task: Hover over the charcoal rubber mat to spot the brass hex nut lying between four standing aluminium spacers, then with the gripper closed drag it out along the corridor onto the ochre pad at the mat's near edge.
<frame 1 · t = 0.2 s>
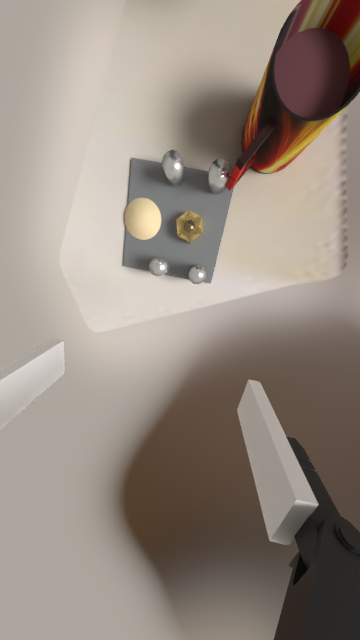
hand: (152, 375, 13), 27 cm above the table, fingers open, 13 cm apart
mat: (174, 225, 35), on the table
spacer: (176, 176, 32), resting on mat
mug: (266, 153, 30), on the table, touching mat
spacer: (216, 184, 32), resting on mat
nut: (190, 228, 34), resting on mat
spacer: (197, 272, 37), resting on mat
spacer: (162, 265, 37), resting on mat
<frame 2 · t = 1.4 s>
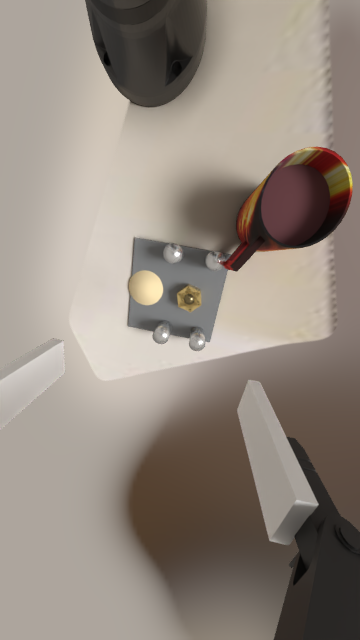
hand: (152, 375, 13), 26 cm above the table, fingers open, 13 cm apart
mat: (175, 293, 38), on the table
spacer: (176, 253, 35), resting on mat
mug: (259, 234, 33), on the table, touching mat
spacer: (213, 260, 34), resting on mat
nut: (189, 296, 37), resting on mat
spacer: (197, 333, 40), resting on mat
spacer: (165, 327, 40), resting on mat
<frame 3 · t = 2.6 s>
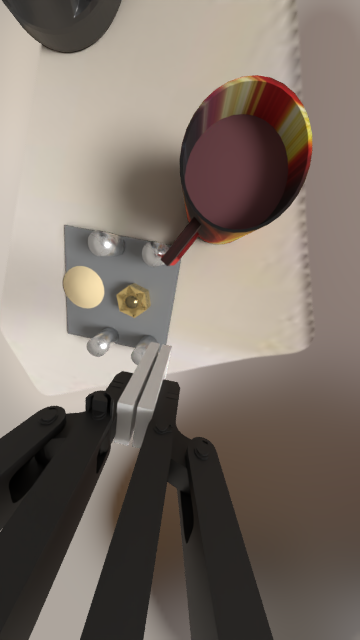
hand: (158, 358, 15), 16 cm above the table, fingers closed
mat: (119, 294, 31), on the table
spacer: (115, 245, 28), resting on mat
mug: (216, 223, 26), on the table, touching mat
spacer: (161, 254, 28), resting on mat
nut: (136, 298, 31), resting on mat
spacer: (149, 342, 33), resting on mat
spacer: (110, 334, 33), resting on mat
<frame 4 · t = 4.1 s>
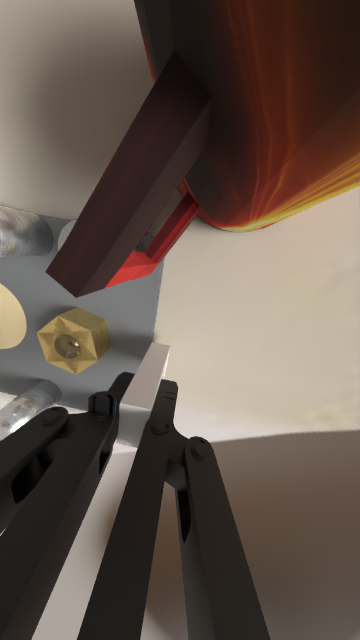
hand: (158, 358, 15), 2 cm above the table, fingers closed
mat: (56, 326, 17), on the table
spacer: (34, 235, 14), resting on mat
mug: (235, 186, 12), on the table, touching mat
nut: (85, 334, 17), resting on mat
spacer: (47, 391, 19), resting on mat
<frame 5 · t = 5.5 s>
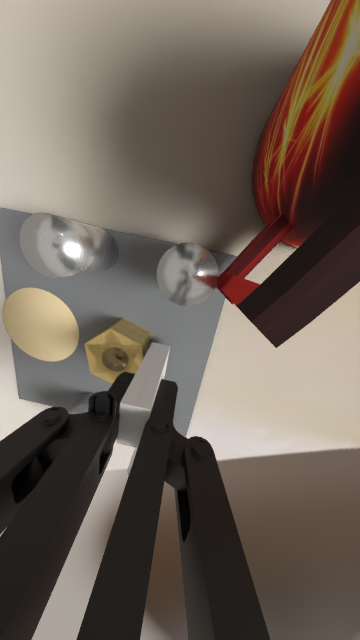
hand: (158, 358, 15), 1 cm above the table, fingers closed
mat: (108, 339, 17), on the table
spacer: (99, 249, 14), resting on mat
mug: (314, 204, 12), on the table, touching mat
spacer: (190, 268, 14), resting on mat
nut: (126, 345, 16), resting on mat, touching gripper
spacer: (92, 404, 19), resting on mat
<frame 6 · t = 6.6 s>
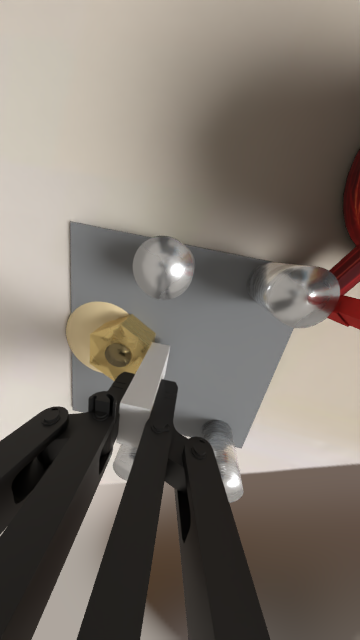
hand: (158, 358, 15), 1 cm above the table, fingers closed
mat: (171, 352, 17), on the table
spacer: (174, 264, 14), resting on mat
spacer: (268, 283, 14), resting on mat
nut: (129, 341, 16), resting on mat, touching gripper
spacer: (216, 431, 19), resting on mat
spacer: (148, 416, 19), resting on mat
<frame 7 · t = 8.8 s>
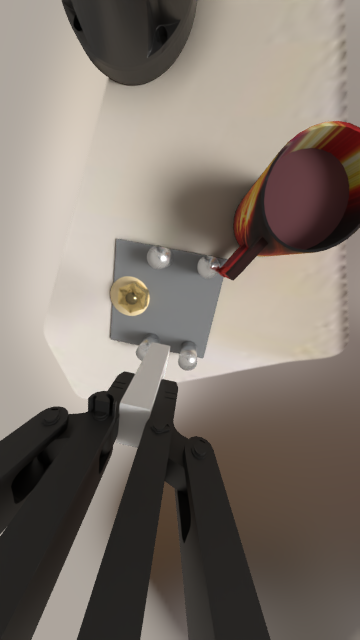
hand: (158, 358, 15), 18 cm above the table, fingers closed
mat: (163, 302, 33), on the table
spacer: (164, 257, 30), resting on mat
mug: (260, 237, 28), on the table, touching mat
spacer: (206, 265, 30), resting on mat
nut: (136, 295, 32), resting on mat
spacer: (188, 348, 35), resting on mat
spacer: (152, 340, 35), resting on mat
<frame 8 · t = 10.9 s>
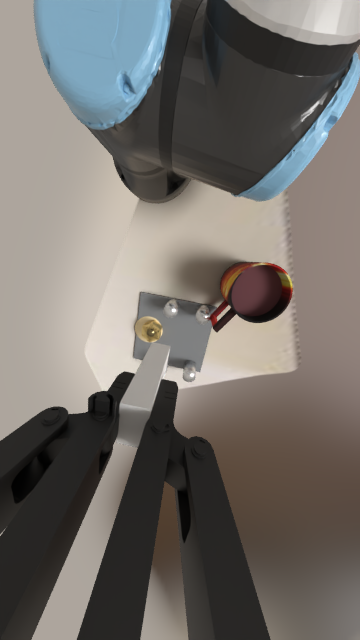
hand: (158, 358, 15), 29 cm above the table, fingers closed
mat: (172, 333, 47), on the table
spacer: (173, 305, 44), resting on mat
mug: (238, 293, 42), on the table, touching mat
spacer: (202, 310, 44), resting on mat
nut: (153, 329, 46), resting on mat
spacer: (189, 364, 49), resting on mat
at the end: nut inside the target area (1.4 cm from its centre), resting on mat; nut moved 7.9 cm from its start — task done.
